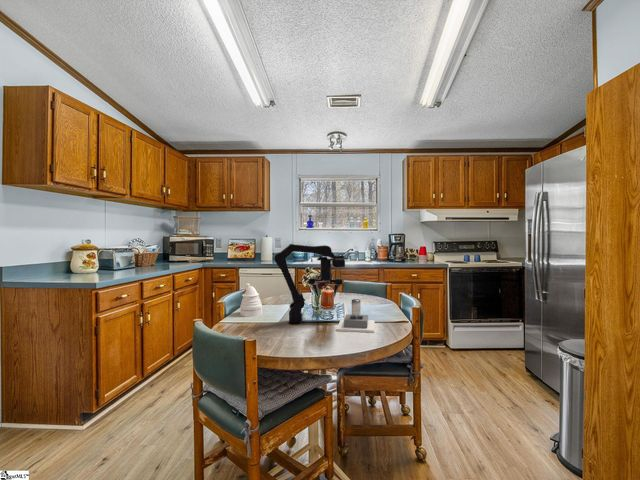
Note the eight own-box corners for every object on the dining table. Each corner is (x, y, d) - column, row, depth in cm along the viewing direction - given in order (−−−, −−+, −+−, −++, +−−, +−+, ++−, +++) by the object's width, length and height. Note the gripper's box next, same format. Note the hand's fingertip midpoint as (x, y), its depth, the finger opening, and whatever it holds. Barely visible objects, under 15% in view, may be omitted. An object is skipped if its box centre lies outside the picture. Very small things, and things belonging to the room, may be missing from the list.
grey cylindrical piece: (353, 326, 164) (353, 301, 163) (350, 323, 168) (350, 299, 167) (362, 325, 165) (361, 300, 164) (358, 322, 169) (358, 298, 169)
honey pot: (236, 315, 191) (235, 285, 190) (247, 310, 203) (246, 281, 202) (255, 317, 187) (255, 286, 186) (265, 311, 199) (265, 282, 199)
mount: (336, 330, 159) (336, 321, 159) (341, 320, 177) (340, 312, 177) (373, 332, 156) (373, 323, 156) (374, 322, 174) (374, 313, 173)
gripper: (344, 266, 184) (344, 294, 184) (312, 266, 187) (312, 293, 188) (342, 269, 173) (342, 298, 173) (307, 268, 176) (308, 297, 177)
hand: (326, 296), depth 178 cm, fingers open, 9 cm apart
